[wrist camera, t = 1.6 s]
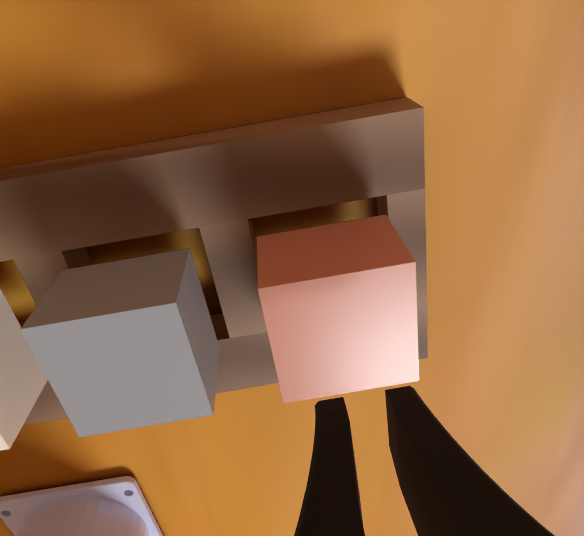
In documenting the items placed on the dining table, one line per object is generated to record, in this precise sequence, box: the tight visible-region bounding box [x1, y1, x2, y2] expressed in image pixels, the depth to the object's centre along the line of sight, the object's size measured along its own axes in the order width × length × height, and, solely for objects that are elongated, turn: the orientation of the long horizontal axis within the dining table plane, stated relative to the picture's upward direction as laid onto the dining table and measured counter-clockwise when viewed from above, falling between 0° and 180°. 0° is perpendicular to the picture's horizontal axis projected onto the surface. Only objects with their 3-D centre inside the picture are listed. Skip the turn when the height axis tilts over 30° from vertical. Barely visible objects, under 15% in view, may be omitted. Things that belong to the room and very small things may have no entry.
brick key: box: [257, 215, 419, 403], centre depth 16 cm, size 5×5×4 cm
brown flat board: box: [0, 97, 428, 426], centre depth 20 cm, size 11×22×2 cm, turn 99°
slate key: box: [20, 248, 220, 437], centre depth 16 cm, size 5×5×4 cm
